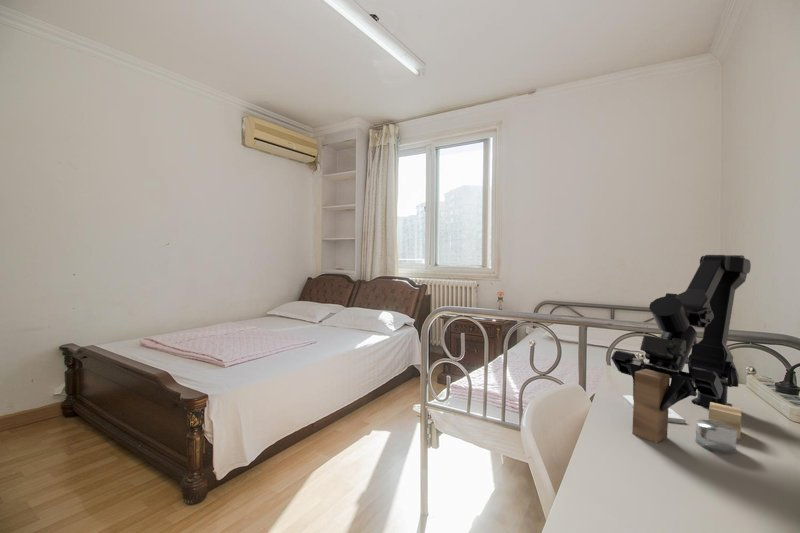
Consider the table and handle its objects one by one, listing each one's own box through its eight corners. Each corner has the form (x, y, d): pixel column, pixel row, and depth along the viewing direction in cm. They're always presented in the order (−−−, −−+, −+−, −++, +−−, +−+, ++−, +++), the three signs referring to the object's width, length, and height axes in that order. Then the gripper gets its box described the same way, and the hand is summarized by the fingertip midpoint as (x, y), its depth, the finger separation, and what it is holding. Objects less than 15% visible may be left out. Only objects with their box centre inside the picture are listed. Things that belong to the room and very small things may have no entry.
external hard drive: (657, 404, 92) (685, 425, 79) (622, 400, 93) (645, 421, 81) (657, 397, 92) (685, 418, 79) (622, 394, 93) (645, 414, 81)
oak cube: (709, 423, 80) (710, 401, 80) (739, 431, 76) (741, 408, 76) (708, 431, 76) (709, 408, 76) (740, 439, 73) (741, 415, 73)
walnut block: (642, 428, 76) (645, 368, 76) (667, 437, 73) (669, 374, 72) (632, 433, 74) (634, 371, 74) (656, 443, 70) (659, 378, 70)
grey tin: (702, 436, 74) (703, 417, 74) (740, 449, 69) (741, 429, 69) (690, 443, 71) (690, 423, 71) (729, 458, 66) (730, 437, 66)
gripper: (617, 315, 83) (588, 368, 77) (720, 330, 67) (693, 399, 61) (632, 345, 87) (606, 397, 82) (733, 366, 71) (708, 433, 66)
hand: (647, 405), depth 72 cm, fingers closed on walnut block, 4 cm apart
